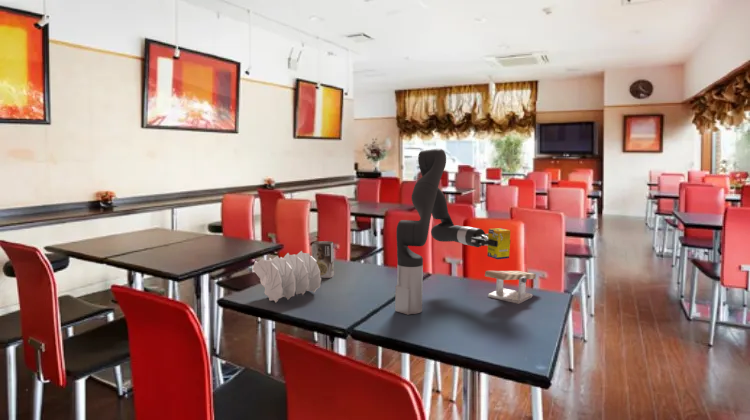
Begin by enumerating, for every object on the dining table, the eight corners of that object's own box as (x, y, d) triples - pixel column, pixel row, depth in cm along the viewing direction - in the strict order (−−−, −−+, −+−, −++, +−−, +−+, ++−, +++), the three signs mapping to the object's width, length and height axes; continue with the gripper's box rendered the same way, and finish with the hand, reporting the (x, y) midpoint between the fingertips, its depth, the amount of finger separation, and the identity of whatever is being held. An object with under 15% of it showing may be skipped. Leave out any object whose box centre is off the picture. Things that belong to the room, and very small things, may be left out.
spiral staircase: (320, 302, 193) (269, 313, 175) (297, 277, 203) (246, 285, 185) (334, 266, 187) (282, 274, 168) (309, 242, 197) (258, 247, 179)
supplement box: (486, 256, 181) (488, 228, 179) (499, 255, 183) (500, 227, 182) (497, 259, 175) (498, 231, 174) (509, 258, 178) (510, 230, 177)
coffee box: (334, 274, 222) (334, 241, 220) (331, 278, 215) (331, 243, 213) (315, 274, 223) (315, 240, 221) (312, 277, 216) (311, 243, 214)
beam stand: (518, 303, 179) (519, 281, 178) (488, 296, 188) (489, 275, 187) (532, 297, 188) (533, 275, 187) (502, 290, 197) (503, 269, 196)
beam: (503, 280, 174) (504, 274, 174) (484, 276, 179) (485, 270, 179) (535, 278, 194) (535, 273, 194) (517, 275, 200) (518, 270, 200)
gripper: (458, 228, 186) (491, 234, 172) (483, 225, 194) (516, 231, 180) (458, 247, 187) (490, 254, 173) (482, 243, 195) (515, 250, 181)
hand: (503, 242), depth 177 cm, fingers closed on supplement box, 6 cm apart
